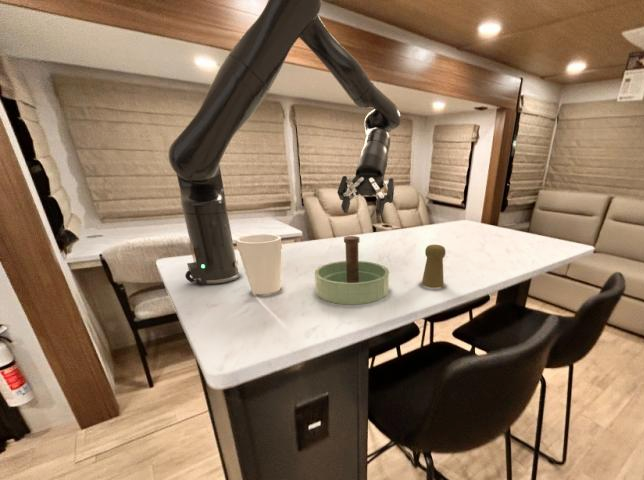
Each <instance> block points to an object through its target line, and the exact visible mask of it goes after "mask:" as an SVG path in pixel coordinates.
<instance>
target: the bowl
mask: <svg viewBox="0 0 644 480" xmlns="http://www.w3.org/2000/svg"><path fill="white" fill-rule="evenodd" d="M346 280H347V279H346V260H342V261H335V262H330V263H325V264H323V265H321V266H319V267H317V268H316V269H315V271H314V281H315V293H316V295H317V297H319V298H320V299H321V300H323V301H325V302H329V303H333V304H338V305H350V306H351V305H363V304H369V303H373V302H377V301H380V300H381V299H383V298H385V297H386V296H387V295H388V294H389V291H390V271H389V269H388V268H387V267H386V266H385V265H382V264H380V263H375V262H371V261H366V260H359V280H360V281H361V282H359V283H344V281H346Z"/></svg>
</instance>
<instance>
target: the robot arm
mask: <svg viewBox="0 0 644 480" xmlns="http://www.w3.org/2000/svg"><path fill="white" fill-rule="evenodd" d="M322 2H323V0H267V3H266V4H265V7H264V9H263V10H262V12H261V13H260V15H259V16H258V18H257V19H256V20H255V21H254V22H253V23H252V25H251V26H250V27H249V28H248V29H247V30H246V31H245V32H244V33H243V34H242V36H241V37H240V38H239V40H238V41H237V42H236V43H235V45H234V46H233V47H232V48H231V50H230V51H229V53H228V55H226V58H225V59H224V61H223V62H222V64H221V65H220V68H218V71H217V73H216V75H215V77H214V78H213V80H212V82H211V84H210V86H209V88H208V89H207V92H206V94H205V97H204V99H203V101H202V102H201V103H202V104H201V105H200V107H199V109H198V111H197V112H196V114H195V115H194V116H193V118H192V119H191V121H190V122H189V123H188V124H187V126H186V127H185V128H184V129H183V130H182V131H181V132H180V134H179V135H178V136H177V137H176V138H175V139H174V140H173V142H172V143H171V144H170V146H169V148H168V161H169V164H170V166H171V168H172V170H173V171H174V172H175V173H176V174H175V175H176V178H177V182H178V188H179V192H180V193H179V194H180V204H181V208H182V213H183V217H184V221H185V225H186V230H187V234H188V239H189V248H190V252H191V256H192V261H193V262H188V263H186V264H187V269H188V270H187V271H186V272H185V279H186V280H187V281H188V282H190V283H194V282H195V280H198V282H199V283H200V284H201V285H215V284H217V285H219V284H224V283H230V282H232V281H235V280H237V279H239V277H240V273H239V268H238V266H239V262H238V259H237V257H236V252H235V247H234V242H233V236H232V230H231V225H230V219H229V214H228V207H227V201H226V195H225V189H224V183H223V182H224V181H223V176H222V171H221V166H220V163H221V161H222V158H223V157H224V154H225V153H226V150H227V149H228V146H229V145H230V142H231V141H232V139H233V137H234V136H235V135H236V133H238V131H239V130H240V129H241V128H242V127H243V126H244V125H245V124H246V123H247V122H248V121H249V119H250V118H251V117H252V116H253V115H254V113H255V112H256V111H257V109H258V108H259V107H260V105H261V104H262V103H263V101H264V99H265V97H266V96H267V94H268V93H269V91H270V89H271V88H272V87H273V84H274V82H275V80H276V79H277V77H278V75H279V73H280V71H281V70H282V68H283V65H284V63H285V61H286V59H287V57H288V55H289V53H290V51H291V50H292V48H293V47H294V45H295V44H296V42H297V40H298V39H300V40H301V41H302V42H303V43H304V44H305V45H306V46H307V47H308V48H309V49H310V50H311V52H312V53H313V54H314V55H315V56H316V57H317V58H318V60H319V61H320V62H321V63H322V64H323V65H324V66H325V67H326V69H327V70H328V71H329V72H330V73H331V75H332V76H333V77H334V79H335V80H336V82H338V84H339V85H340V86H341V88H342V89H343V90H344V92H345V94H346V95H347V96H348V97H349V98H350V100H351V101H352V102H353V105H355V106H356V107H357V108H358V109H367V108H372V110H371V111H369V112H368V113H367V115H366V116H365V118H364V122H363V124H364V125H363V126H364V136H365V139H364V143H363V146H362V148H361V151H360V154H359V158H358V162H357V166H356V169H355V175H354V177H353V178H348V177H347V176H346V175H343V176H341V180H340V183H339V186H338V189H337V192H336V193H337V195H338V198H339V200H340V201H342V202H341V205H340V206H341V209H342V212H343V213H344V214H349V210H350V205H351V201H353V200H354V199H357V198H359V196H361V197H365V196H368V197H373V196H375V197H376V200H377V203H376V207H375V213H376V216H379V217H380V216H381V215H382V214H383V213H384V209H385V205H386V203H388V204H392V203H393V202H394V194H395V181H394V178H393V177H391V178H388V180H384V179H385V174H386V171H387V167H388V160H389V152H390V146H391V136H390V134H389V133H390V132H392V131H394V130H396V129H398V128H399V126H400V125H401V122H402V115H401V112H400V110H399V108H398V106H397V105H396V104H395V103H394V102H393V100H391V99H390V98H389V97H388V96H387V95H385V94H384V93H383V92H382V91H381V90H380V89H379V88H377V86H376V85H375V84H374V82H373V81H372V80H371V78H370V77H369V75H368V73H367V72H366V70H365V69H364V68H363V66H362V65H361V64H360V62H359V61H358V60H357V59H356V58H355V57H354V56H353V55H352V54H351V53H350V51H348V50H347V49H346V48H345V47H344V46H343V45H342V44H341V43H340V42H339V41H337V39H336V38H335V37H334V36H333V35H332V34H331V32H330V31H329V30H328V29H327V27H326V26H325V24H324V23H323V21H322V20H321V18H320V16H319V13H320V11H321V7H322ZM384 187H385V188H386V190H387V191H386V194H384V193H383V192H382V190H383V188H384Z"/></svg>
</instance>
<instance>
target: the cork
mask: <svg viewBox="0 0 644 480" xmlns="http://www.w3.org/2000/svg"><path fill="white" fill-rule="evenodd" d="M424 252H425V253H424V254H425V258H426V261H425V266H424V270H423V275H422V279H421V284H422V286H424V287H427V288H431V289H434V288H435V289H436V288H437V289H439V288H442V289H444V287H445V286H444V285H445V283H444V281H445V280H444V258H445V256H446V248H445V247H444V246H443V245H441V244H429V245H427V246H426V248H425V250H424Z"/></svg>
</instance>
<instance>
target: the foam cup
mask: <svg viewBox="0 0 644 480" xmlns="http://www.w3.org/2000/svg"><path fill="white" fill-rule="evenodd" d="M235 244H236V249H237V252H238V253H239V256H240V260H241V262H242V265H243V268H244V271H245V275H246V277H247V280H248V281H247V282H248V284H249V287H250V291H251V293H252V295H254V296H255V297H257V296H258V295H270V294H274V293H277V292H279V291H280V290H281V289H282V288H281V286H282V284H281V282H282V279H281V278H282V249H283V243H282V236H280V235H278V234H270V233H257V234H248V235H242V236H239V237H236V239H235Z"/></svg>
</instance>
